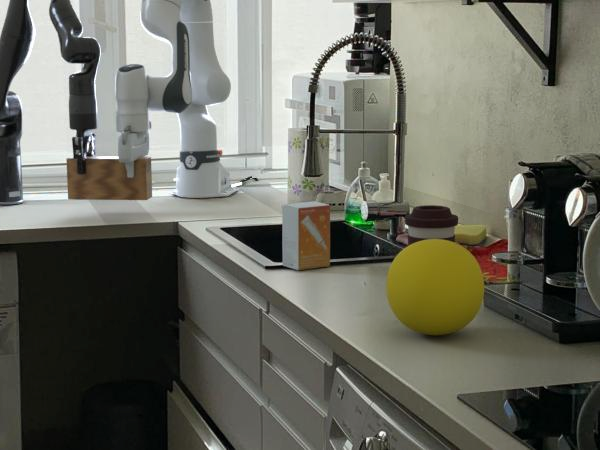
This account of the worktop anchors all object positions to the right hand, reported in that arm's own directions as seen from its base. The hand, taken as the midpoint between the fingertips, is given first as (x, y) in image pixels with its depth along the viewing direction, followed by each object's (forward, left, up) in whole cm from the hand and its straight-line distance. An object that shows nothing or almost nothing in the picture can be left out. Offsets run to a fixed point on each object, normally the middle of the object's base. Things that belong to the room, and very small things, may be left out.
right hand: (134, 175), depth 286 cm
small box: (+51, +69, -11) cm, 86 cm away
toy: (+93, +106, -11) cm, 141 cm away
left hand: (+4, -13, +1) cm, 14 cm away
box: (+2, -7, -6) cm, 9 cm away
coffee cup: (+61, +97, -11) cm, 115 cm away
